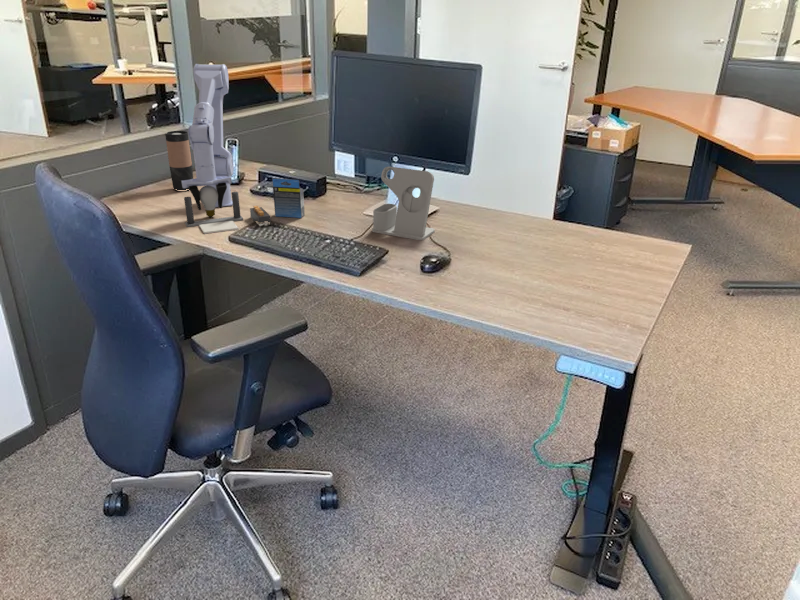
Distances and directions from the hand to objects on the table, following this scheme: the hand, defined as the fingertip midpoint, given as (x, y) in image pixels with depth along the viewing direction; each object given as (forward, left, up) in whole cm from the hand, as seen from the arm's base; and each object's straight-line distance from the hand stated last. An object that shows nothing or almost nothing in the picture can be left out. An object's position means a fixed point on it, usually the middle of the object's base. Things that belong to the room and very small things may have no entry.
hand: (209, 208), depth 195 cm
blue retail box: (+8, +23, -3) cm, 25 cm away
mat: (+11, 0, -3) cm, 12 cm away
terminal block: (+10, +13, -3) cm, 17 cm away
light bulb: (0, 0, -3) cm, 3 cm away
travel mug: (-38, -2, -3) cm, 38 cm away
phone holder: (+37, +49, -3) cm, 61 cm away
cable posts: (+5, 0, -3) cm, 6 cm away
